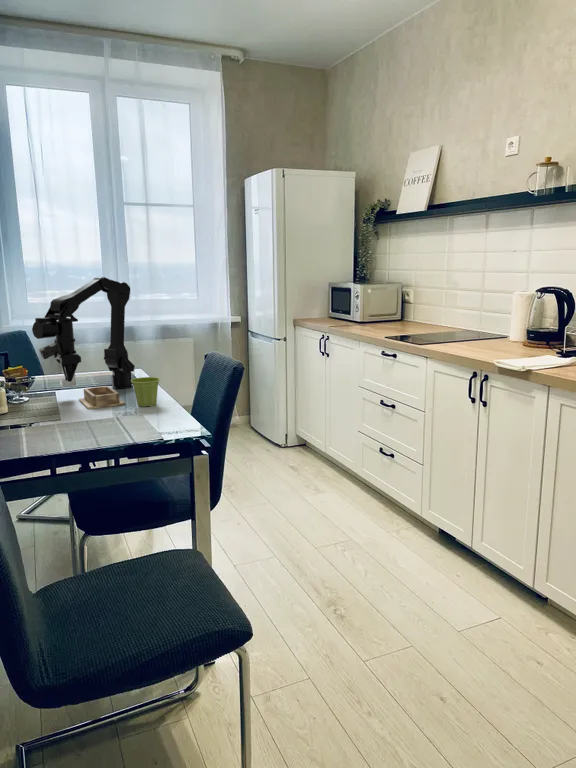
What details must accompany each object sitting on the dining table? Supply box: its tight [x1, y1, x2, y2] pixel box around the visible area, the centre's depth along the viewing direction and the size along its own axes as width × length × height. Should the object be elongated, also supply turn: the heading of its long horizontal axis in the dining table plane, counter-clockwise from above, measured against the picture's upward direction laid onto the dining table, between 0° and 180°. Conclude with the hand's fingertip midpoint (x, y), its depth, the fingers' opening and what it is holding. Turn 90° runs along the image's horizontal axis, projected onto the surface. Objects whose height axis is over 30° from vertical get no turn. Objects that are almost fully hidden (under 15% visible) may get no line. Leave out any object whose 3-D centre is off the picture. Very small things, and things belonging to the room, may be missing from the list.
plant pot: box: [131, 376, 161, 408], centre depth 195 cm, size 9×9×9 cm
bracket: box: [59, 372, 77, 387], centre depth 204 cm, size 4×4×7 cm
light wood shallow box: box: [78, 385, 126, 410], centre depth 199 cm, size 12×15×4 cm
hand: (68, 380), depth 204 cm, fingers closed on bracket, 4 cm apart
